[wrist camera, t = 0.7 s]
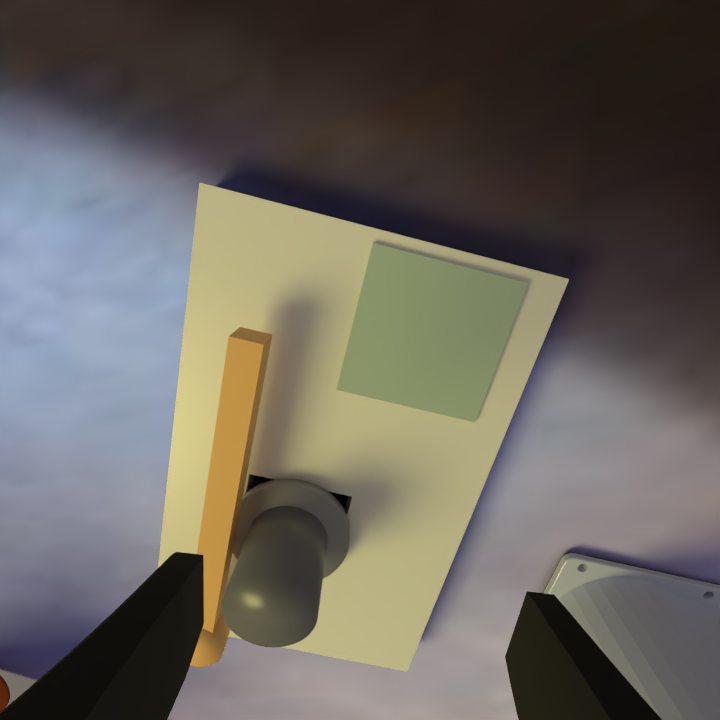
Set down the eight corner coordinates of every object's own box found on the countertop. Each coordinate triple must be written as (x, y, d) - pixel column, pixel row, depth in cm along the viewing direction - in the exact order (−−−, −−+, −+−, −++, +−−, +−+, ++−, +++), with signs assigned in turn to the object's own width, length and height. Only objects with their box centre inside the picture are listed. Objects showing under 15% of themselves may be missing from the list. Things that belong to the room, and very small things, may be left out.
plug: (363, 471, 20) (360, 571, 14) (338, 558, 22) (326, 677, 16) (251, 446, 20) (203, 537, 14) (235, 536, 21) (186, 650, 16)
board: (552, 274, 17) (580, 282, 14) (404, 644, 24) (408, 688, 21) (214, 186, 16) (189, 180, 14) (165, 596, 23) (143, 637, 21)
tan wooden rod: (288, 337, 15) (280, 349, 14) (228, 641, 20) (218, 671, 19) (224, 322, 15) (210, 332, 14) (180, 632, 20) (167, 661, 19)
